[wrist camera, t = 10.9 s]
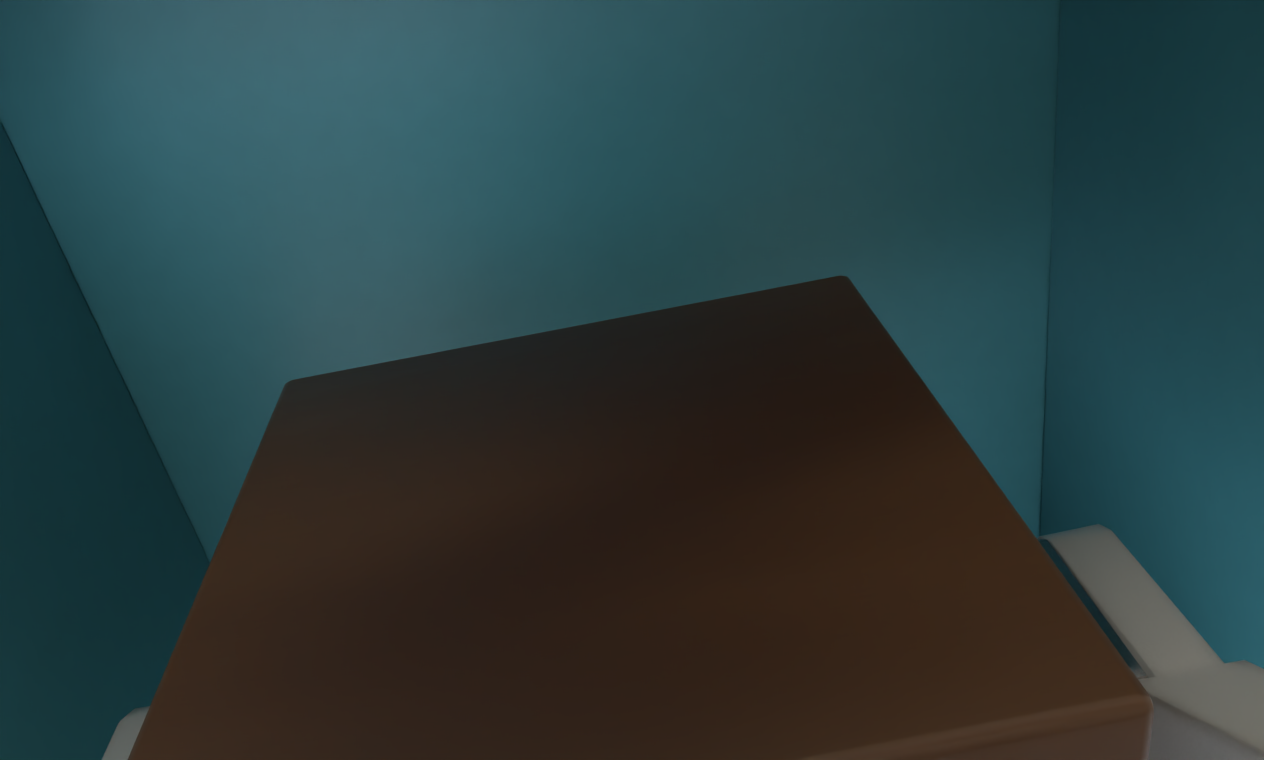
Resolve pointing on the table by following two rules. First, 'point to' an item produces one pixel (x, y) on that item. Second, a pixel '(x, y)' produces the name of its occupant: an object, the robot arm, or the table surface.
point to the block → (638, 562)
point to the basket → (607, 256)
